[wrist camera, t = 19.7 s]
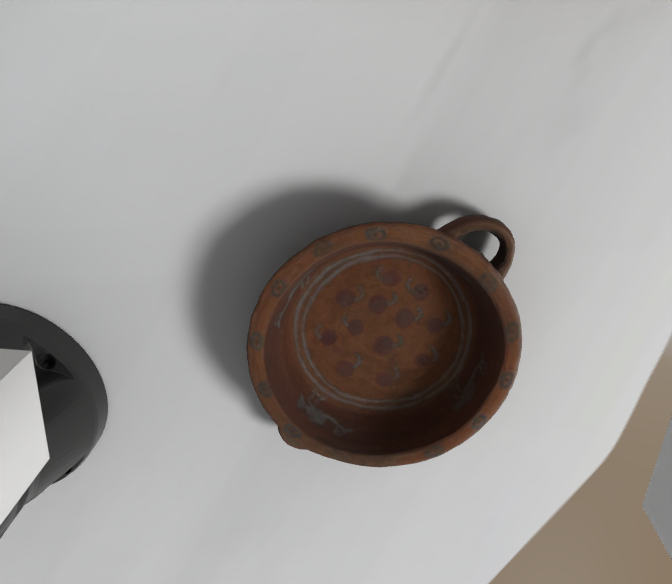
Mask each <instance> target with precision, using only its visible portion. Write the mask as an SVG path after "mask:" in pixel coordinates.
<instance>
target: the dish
mask: <svg viewBox="0 0 672 584" xmlns="http://www.w3.org/2000/svg"><path fill="white" fill-rule="evenodd" d="M482 230H485V231H488V232H490V233H492V234H493V235H494V236H496V237H497V238H498V240H499V242H500V246H499V250H498V252H497V254H496V255H495V257H494V258H493V259H492V260H491V261H490V262H489V261H488V260H487V259H486V258H485V256H484V255H483V254H482V253H479V252H478V251H477V250H475V249H473V248H471V247H469V246H467V245H466V244H465V243H463V242H462V241H461V240H460V239H461V238H462V237H463V236H464V235H466V234H468V233H470V232H474V231H482ZM514 252H515V241H514V238H513V235H512V233H511V231H510V230H509V229H508V228H507V227H506V226H505V224H503V223H502V222H501V221H499V220H498V219H494V218H491V217H487V216H484V215H469V216H464V217H460V218H458V219H456V220H454V221H452V222H450V223H448V224H446V225H444V226H443V227H441V228H439V229H437V230H435V229H433V228H429V227H426V226H421V225H417V224H409V223H401V222H371V223H364V224H360V225H355V226H350V227H347V228H344V229H341V230H338V231H336V232H333V233H331V234H329V235H326V236H324V237H321V238H319V239H317V240H315V241H314V242H312V243H311V244H309V245H308V246H307V247H305V248H304V249H302V250H301V251H299V252H298V253H297V254H296V255H294V256H293V257H291V258H290V259H289V260H288V261H287V262H286V263H285V264H284V265H283V266H282V267H281V268H280V269H279V270H278V271H277V272H276V273H275V274H274V275H273V277H272V278H271V279H270V281H269V282H268V283H267V285H266V287H265V288H264V290H263V291H262V293H261V295H260V297H259V300H258V303H257V305H256V307H255V310H254V312H253V314H252V318H251V321H250V327H249V332H248V340H247V359H248V365H249V372H250V377H251V381H252V383H253V386H254V389H255V391H256V393H257V395H258V397H259V399H260V401H261V403H262V405H263V407H264V408H265V410H266V411H267V413H268V414H269V415H270V416H271V418H272V419H273V421H274V422H275V423H276V424H277V425H278V430H279V433H280V435H281V437H282V439H283V440H284V441H285V442H286V443H287V444H288V445H290V446H292V447H295V448H298V449H306V450H310V451H312V452H315V453H317V454H320V455H322V456H325V457H328V458H332V459H335V460H338V461H342V462H345V463H350V464H355V465H360V466H369V467H388V466H399V465H406V464H413V463H418V462H422V461H425V460H428V459H431V458H434V457H437V456H440V455H442V454H444V453H446V452H448V451H449V450H451V449H453V448H455V447H456V446H458V445H460V444H462V443H463V442H464V441H466V440H467V439H469V438H470V437H471V436H473V435H474V434H475V433H476V432H477V431H479V430H480V429H481V428H482V427H483V426H484V425H485V424H486V423H487V422H488V421H489V420H490V419H491V417H492V416H493V415H494V414H495V413H496V412H497V410H498V409H499V407H500V406H501V405H502V403H503V402H504V400H505V399H506V397H507V395H508V393H509V391H510V389H511V388H512V386H513V383H514V380H515V378H516V375H517V371H518V366H519V361H520V357H521V349H522V334H521V322H520V317H519V314H518V310H517V307H516V304H515V302H514V300H513V298H512V296H511V294H510V292H509V290H508V288H507V286H506V285H505V283H504V281H503V279H504V278H505V276H506V274H507V272H508V271H509V268H510V266H511V264H512V261H513V257H514Z"/></svg>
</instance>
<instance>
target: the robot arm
mask: <svg viewBox="0 0 672 584" xmlns="http://www.w3.org/2000/svg"><path fill="white" fill-rule="evenodd" d="M107 413H108V403H107V395H106V390H105V386H104V383H103V381H102V378H101V376H100V374H99V372H98V370H97V368H96V366H95V364H94V363H93V361H92V360H91V358H90V357H89V356H88V354H87V353H86V352H85V350H84V349H83V348H82V347H81V346H80V345H79V344H78V343H77V342H76V341H75V340H74V339H73V338H72V337H71V336H69V335H68V334H67V333H66V332H64V331H63V330H62V329H60V328H59V327H57V326H56V325H55V324H53V323H51V322H49V321H48V320H46V319H44V318H42V317H40V316H38V315H36V314H33V313H31V312H28V311H25V310H22V309H19V308H15V307H11V306H6V305H0V538H1V537H2V536H3V534H4V533H5V531H6V530H7V528H8V527H9V526H10V524H11V523H12V521H13V520H14V518H15V517H16V516H17V514H18V513H19V512H20V510H21V509H22V507H23V506H24V505H25V504H27V503H28V502H30V501H31V500H32V499H34V498H35V497H36V496H38V495H39V494H40V493H42V492H43V491H44V490H45V489H46V488H47V487H48V486H49V485H51V484H53V483H55V482H58V481H60V480H61V479H63V478H65V477H66V476H68V475H69V474H71V473H72V472H73V471H74V470H76V469H77V468H78V467H79V466H80V465H81V464H82V463H83V462H84V460H85V459H86V458H87V457H88V455H89V454H90V452H91V451H92V449H93V448H94V446H95V445H96V443H97V442H98V440H99V438H100V437H101V435H102V433H103V430H104V428H105V424H106V420H107ZM642 506H643V508H644V510H645V512H646V514H647V516H648V517H649V519H650V521H651V523H652V525H653V526H654V528H655V530H656V532H657V534H658V536H659V537H660V539H661V541H662V543H663V545H664V546H665V548H666V550H667V552H668V554H669V556H670V557H671V559H672V416H671V419H670V422H669V425H668V428H667V432H666V435H665V438H664V441H663V444H662V447H661V450H660V453H659V456H658V459H657V462H656V465H655V468H654V471H653V474H652V477H651V480H650V483H649V486H648V490H647V493H646V496H645V499H644V502H643V505H642Z"/></svg>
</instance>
